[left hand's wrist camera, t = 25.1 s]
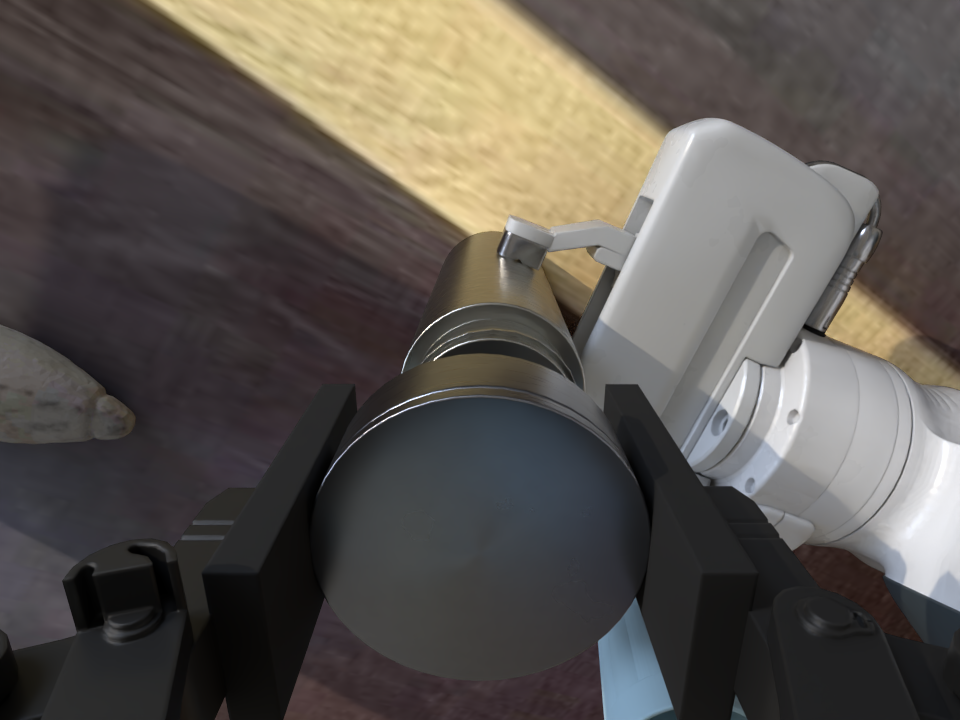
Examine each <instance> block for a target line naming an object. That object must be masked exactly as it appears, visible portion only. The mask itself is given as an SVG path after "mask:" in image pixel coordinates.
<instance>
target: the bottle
mask: <svg viewBox="0 0 960 720" xmlns="http://www.w3.org/2000/svg"><path fill="white" fill-rule="evenodd" d="M502 233H503V232H495V231H489V232H481V233H477V234H474V235H472V236H469V237H468V238H466V239H464V240H462V241H461V242H460V243H458V244H457V245H456V246H455V247H454V248H453V249H452V251H451V252H450V253H449V255H448V256H447V258H446V259H445V262H444V264H443V266H442V269H441V271H440V274H439V276H438V279H437V281H436V284H435V286H434V289H433V291H432V293H431V296H430V298H429V301H428V303H427V306H426V308H425V311H424V313H423V316H422V318H421V321H420V323H419V326H418V328H417V331H416V333H415V336H414V338H413V340H412V343H411V345H410V348H409V350H408V353H407V355H406V358H405V360H404V364H403V367H402V371H401V373H403V372H405V371H408V370H410V369H412V368H414V367H416V366H418V365H421V364H424V363H427V362H430V361H433V360H436V359H439V358H445V357H450V356H455V355H463V354H479V353H481V354H497V355H505V356H510V357H515V358H521V359H524V360H527V361H530V362H533V363H536V364H540V365H542V366H544V367H546V368H548V369H550V370H553V371H555V372H557V373H559V374H560V375H562V376H564V377H565V378H567V379H568V380H570V381H571V382H573V383H574V384H576V385H577V386H578V387H579V388H580V389H582V390H583V391H584V392H586V390H585V376H584V370H583V367H582V364H581V360H580V357H579V355H578V353H577V350H576V348H575V345H574V343H573V341H572V338H571V336H570V333H569V331H568V328H567V326H566V324H565V321H564V319H563V316H562V314H561V312H560V309H559V307H558V304H557V302H556V300H555V297H554V295H553V292H552V290H551V287H550V285H549V283H548V280H547V278H546V275H545V273H544V271H543V268H542V266H541V267H540V269H539V271H538V270H536V269H533V268H531V267H528V266H526V265H524V264H522V262H521V260H520V259H516V260H512V259H508V258H505V257H503V256H501V255H499V254H498V253H497V250H496V249H497V246H498V243H499V241H500V238H501V235H502Z"/></svg>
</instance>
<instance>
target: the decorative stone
mask: <svg viewBox="0 0 960 720" xmlns="http://www.w3.org/2000/svg"><path fill="white" fill-rule="evenodd" d="M135 420H136V417H135V415H134V413H133V412H132V411H131V410H130V409H129V408H127V407H126V406H125V405H124V404H123V403H122V402H120V401H119V400H118V399H116V398H114V397H113V396H110V395H107V394H106V390H105V388H104V387H103V386H102V385H100V384H99V383H98V382H97V381H96V380H95V379H94V378H92V377H91V376H90V375H89V374H87V373H86V372H85V371H84V370H83V369H81V368H79V367H78V366H77V365H75V364H74V363H73V362H72V361H71V360H69V359H68V358H66V357H65V356H63V355H61V354H60V353H58V352H57V351H55V350H53V349H52V348H50V347H48V346H46V345H45V344H43V343H41V342H39V341H37V340H35V339H33V338H31V337H29V336H27V335H25V334H23V333H21V332H18V331H16V330H13V329H11V328H8V327H5V326H3V325H0V441H2V442H9V443H27V444H43V443H64V442H82V441H88V440H90V439H92V438H97V439H100V440H112V439H119V438H122V437H124V436H126V435H128V434H129V433H130V432H131V431H132V429H133V428H134V426H135Z"/></svg>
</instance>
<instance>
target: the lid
mask: <svg viewBox="0 0 960 720" xmlns="http://www.w3.org/2000/svg"><path fill="white" fill-rule="evenodd" d="M309 538H310V547H311V556H312V564H313V570H314V573H315V576H316V579H317V581H318V584H319V587H320V589H321V591H322V593H323V595H324V597H325V598H326V600H327V602H328V604H329V605H330V607H331V608H332V610H333V611H334V612H335V614H336V615H337V617H338V618H339V619H340V620H341V621H342V622H343V624H344V625H345V626H346V627H347V628H348V629H349V630H350V631H351V632H352V633H353V634H354V635H355V636H357V637H358V638H359V639H360V640H362V641H363V642H364V643H365V644H366V645H368V646H369V647H371V648H372V649H374V650H375V651H377V652H378V653H380V654H382V655H383V656H385V657H387V658H389V659H391V660H393V661H395V662H397V663H399V664H401V665H404V666H406V667H409V668H412V669H414V670H417V671H420V672H423V673H427V674H431V675H435V676H439V677H445V678H452V679H458V680H476V681H484V680H502V679H508V678H515V677H521V676H525V675H529V674H533V673H537V672H541V671H543V670H546V669H549V668H551V667H554V666H557V665H559V664H561V663H563V662H565V661H567V660H569V659H571V658H573V657H575V656H577V655H579V654H580V653H582V652H583V651H585V650H586V649H588V648H590V647H591V646H593V645H594V644H595V643H596V642H598V641H599V640H600V639H601V638H602V637H604V636H605V635H606V634H607V633H608V632H609V631H610V630H611V629H612V628H613V627H614V626H615V625H616V624H617V623H618V622H619V621H620V620H621V618H622V617H623V615H624V614H625V613H626V611H627V610H628V609H629V607H630V606H631V604H632V603H633V601H634V599H635V597H636V595H637V593H638V591H639V590H640V588H641V585H642V582H643V579H644V576H645V574H646V571H647V566H648V559H649V551H650V542H651V526H650V518H649V512H648V508H647V505H646V501H645V498H644V494H643V492H642V490H641V488H640V486H639V484H638V481H637V479H636V477H635V475H634V473H633V470H632V468H631V466H630V464H629V462H628V460H627V457H626V455H625V453H624V451H623V449H622V446H621V444H620V442H619V440H618V438H617V436H616V433H615V431H614V429H613V427H612V425H611V423H610V422H609V420H608V419H607V417H606V416H605V414H604V413H603V411H602V410H601V409H600V408H599V406H598V405H597V404H596V403H595V402H594V401H593V400H592V399H591V397H590V396H589V395H587V394H586V393H585V392H584V391H583V390H582V389H580V388H579V387H578V386H577V385H576V384H574V383H573V382H571V381H570V380H568V379H567V378H565V377H564V376H562V375H560V374H559V373H557V372H555V371H553V370H550V369H548V368H546V367H544V366H542V365H540V364H536V363H533V362H530V361H527V360H524V359H521V358H515V357H510V356H505V355H497V354H481V353H479V354H463V355H455V356H450V357H445V358H439V359H436V360H433V361H430V362H427V363H424V364H421V365H418V366H416V367H414V368H412V369H410V370H408V371H405V372H403V373H401V374H400V375H398V376H397V377H395V378H394V379H392V380H390V381H389V382H387V383H386V384H384V385H383V386H382V387H381V388H380V389H379V390H377V391H376V392H375V393H374V394H373V395H372V396H370V398H369V399H368V400H367V401H366V402H365V403H364V404H363V405H362V407H361V408H360V409H359V410H358V412H357V413H356V415H355V416H354V418H353V419H352V421H351V422H350V424H349V425H348V427H347V430H346V432H345V434H344V436H343V438H342V440H341V443H340V445H339V447H338V449H337V451H336V453H335V456H334V458H333V460H332V462H331V464H330V467H329V469H328V471H327V473H326V475H325V477H324V480H323V482H322V484H321V486H320V488H319V490H318V493H317V495H316V498H315V502H314V505H313V509H312V512H311V519H310V528H309Z"/></svg>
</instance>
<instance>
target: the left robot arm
mask: <svg viewBox="0 0 960 720" xmlns="http://www.w3.org/2000/svg"><path fill="white" fill-rule="evenodd" d="M356 413H357V405H356V392H355V384H322V386H321V387H320V389H319V391H318V392H317V394H316V395H315V397H314V398H313V400H312V401H311V403H310V405H309V406H308V408H307V409H306V411H305V412H304V414H303V415H302V417H301V419H300V420H299V422H298V423H297V425H296V426H295V428H294V429H293V431H292V433H291V434H290V436H289V437H288V439H287V440H286V442H285V443H284V445H283V447H282V448H281V450H280V451H279V453H278V454H277V456H276V457H275V459H274V461H273V462H272V464H271V465H270V467H269V468H268V470H267V471H266V473H265V475H264V476H263V478H262V479H261V481H260V482H259V484H258V486H257V487H256V488H228V489H226V490H225V491H224V492H222V493H221V494H219V495H218V496H216V497H215V498H213V499H212V500H210V501H209V502H208V503H206V504H205V506H204V507H203V508H202V510H201V511H200V512H199V514H198V515H197V516H196V518H195V519H194V520H193V524H192V525H190V526H189V527H188V528H187V530H186V531H185V532H184V534H183V535H182V536H181V537H182V538H181V540H178V542H177V543H176V544H175V546H174V547H172V546H171V545H170V544H169V543H167V542H165V541H160V540H156V539H137V540H130V541H126V542H122V543H118V544H114V545H111V546H108V547H106V548H104V549H102V550H100V551H97V552H95V553H93V554H91V555H89V556H88V557H86V558H85V559H84V560H82V561H81V562H79V563H78V564H77V565H75V566H74V567H73V568H72V569H71V570H70V571H69V573H68V574H67V575H66V576H65V578H64V579H63V580H62V582H63V585H64V589H65V592H66V596H67V599H68V602H69V606H70V609H71V613H72V616H73V620H74V623H75V626H76V630H77V634H76V636H72V637H69V638H66V639H62V640H58V641H53V642H49V643H45V644H40V645H36V646H32V647H27V648H23V649H19V650H14V651H12V648H11V645H10V642H9V639H8V636H7V634H5V633H4V632H3V631H2V630H0V720H214V719H215V717H216V715H217V713H218V711H219V709H220V706H221V704H222V702H223V700H224V698H226V703H227V708H228V713H229V718H230V720H283V719H284V716H285V713H286V710H287V707H288V704H289V701H290V698H291V695H292V692H293V689H294V686H295V683H296V680H297V677H298V674H299V671H300V668H301V665H302V663H303V660H304V657H305V654H306V651H307V648H308V645H309V642H310V639H311V636H312V633H313V630H314V627H315V624H316V621H317V618H318V615H319V612H320V609H321V606H322V604H323V601H324V598H325V597H324V595H323V593H322V591H321V589H320V587H319V584H318V581H317V579H316V576H315V573H314V570H313V564H312V556H311V547H310V538H309V528H310V519H311V512H312V509H313V505H314V502H315V498H316V495H317V493H318V490H319V488H320V486H321V484H322V482H323V480H324V477H325V475H326V473H327V471H328V469H329V467H330V464H331V462H332V460H333V458H334V456H335V453H336V451H337V449H338V447H339V445H340V443H341V440H342V438H343V436H344V434H345V432H346V430H347V427H348V425H349V424H350V422H351V421H352V419H353V418H354V416H355V415H356ZM603 413H604V414H605V416H606V417H607V419H608V420H609V422H610V423H611V425H612V427H613V429H614V431H615V433H616V436H617V438H618V440H619V442H620V444H621V446H622V449H623V451H624V453H625V455H626V457H627V460H628V462H629V464H630V466H631V468H632V470H633V473H634V475H635V477H636V479H637V481H638V484H639V486H640V488H641V490H642V492H643V494H644V498H645V501H646V505H647V508H648V512H649V518H650V526H651V542H650V551H649V559H648V566H647V571H646V574H645V576H644V579H643V582H642V585H641V588H640V590H639V591H638V593H637V595H636V600H637V602H638V605H639V608H640V611H641V614H642V617H643V620H644V623H645V626H646V629H647V632H648V635H649V638H650V641H651V644H652V647H653V650H654V653H655V656H656V659H657V661H658V664H659V667H660V670H661V673H662V676H663V679H664V682H665V685H666V688H667V691H668V694H669V697H670V700H671V703H672V706H673V709H674V712H675V715H676V717H677V720H731V715H732V710H733V705H734V700H735V695H736V696H737V698H738V700H739V702H740V705H741V707H742V709H743V711H744V713H745V715H746V718H747V720H960V628H959V629H958V630H957V631H955V632H954V635H953V638H952V641H951V644H950V647H949V648H944V647H940V646H936V645H931V644H927V643H923V642H918V641H914V640H909V639H905V638H901V637H897V636H893V635H890V634H887V633H884V632H883V631H882V629H881V628H880V626H879V625H878V623H877V622H876V620H875V619H874V617H873V616H872V615H870V614H869V613H868V612H867V611H865V610H864V609H863V608H862V607H860V606H859V605H858V604H857V603H855V602H853V601H851V600H849V599H847V598H845V597H843V596H841V595H839V594H837V593H834V592H831V591H827V590H824V589H821V588H820V587H819V586H818V585H817V583H816V582H815V581H814V579H813V578H812V577H811V575H810V574H809V573H808V571H807V570H806V569H805V568H804V566H803V565H802V564H801V562H800V561H799V560H798V558H797V557H796V556H795V554H794V553H793V552H792V550H791V549H790V548H789V546H788V545H787V544H786V542H785V541H784V540H783V538H780V537H779V533H778V532H777V531H776V529H775V528H774V527H773V525H772V524H771V523H768V519H767V517H766V516H765V515H764V513H763V512H762V511H761V509H760V508H759V507H758V505H757V504H756V503H755V501H753V500H752V499H750V498H749V497H747V496H746V495H744V494H743V493H741V492H740V491H738V490H737V489H736V488H734V487H733V486H703V485H702V483H701V482H700V480H699V479H698V477H697V476H696V474H695V472H694V471H693V469H692V468H691V466H690V465H689V463H688V462H687V460H686V458H685V457H684V455H683V454H682V452H681V451H680V449H679V448H678V446H677V444H676V443H675V441H674V440H673V438H672V437H671V435H670V434H669V432H668V430H667V429H666V427H665V426H664V424H663V423H662V421H661V420H660V418H659V416H658V415H657V413H656V412H655V410H654V409H653V407H652V406H651V404H650V402H649V401H648V399H647V398H646V396H645V395H644V393H643V392H642V390H641V388H640V387H639V385H638V384H605V397H604V410H603Z"/></svg>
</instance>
